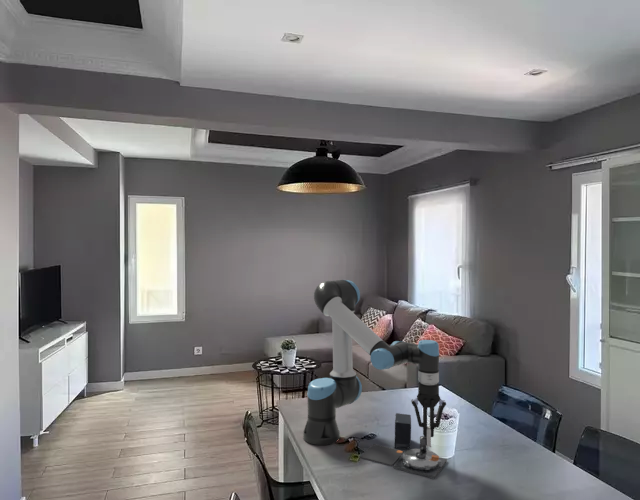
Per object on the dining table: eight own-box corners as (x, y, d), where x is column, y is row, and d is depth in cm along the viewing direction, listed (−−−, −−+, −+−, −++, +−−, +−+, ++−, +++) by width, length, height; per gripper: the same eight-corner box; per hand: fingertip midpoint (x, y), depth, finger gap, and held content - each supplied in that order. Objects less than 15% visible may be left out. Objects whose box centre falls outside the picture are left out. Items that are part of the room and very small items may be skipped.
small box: (410, 450, 180) (411, 423, 180) (394, 448, 181) (394, 422, 181) (411, 439, 190) (411, 414, 190) (395, 437, 192) (395, 412, 192)
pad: (359, 457, 173) (359, 456, 173) (373, 445, 184) (373, 443, 184) (392, 466, 166) (392, 464, 166) (404, 452, 178) (404, 450, 178)
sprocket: (397, 465, 164) (397, 446, 164) (405, 450, 177) (405, 433, 176) (437, 473, 159) (437, 453, 159) (443, 457, 171) (443, 439, 171)
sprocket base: (393, 468, 165) (393, 465, 165) (408, 452, 178) (408, 449, 178) (435, 479, 157) (435, 476, 157) (446, 461, 170) (446, 459, 170)
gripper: (412, 384, 169) (411, 448, 169) (448, 385, 168) (447, 450, 168) (409, 378, 176) (409, 440, 177) (444, 379, 175) (444, 441, 176)
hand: (428, 445), depth 172 cm, fingers closed
